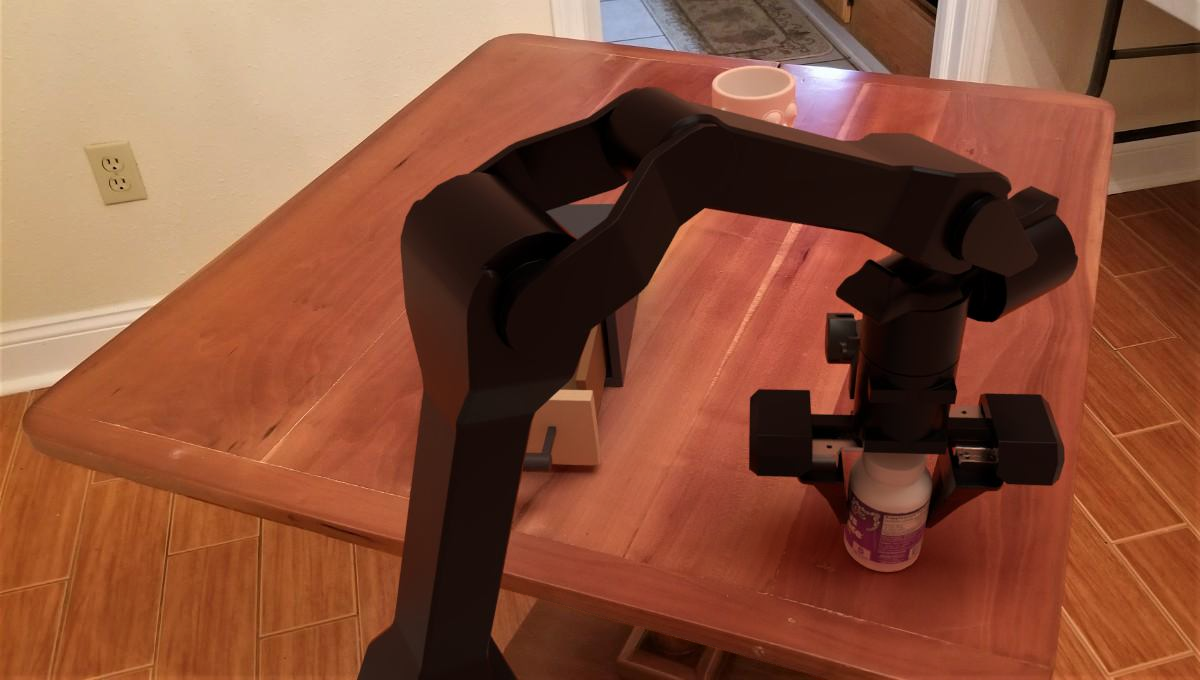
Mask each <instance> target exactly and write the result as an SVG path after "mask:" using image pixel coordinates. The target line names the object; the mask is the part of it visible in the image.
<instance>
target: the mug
mask: <svg viewBox="0 0 1200 680" xmlns="http://www.w3.org/2000/svg"><path fill="white" fill-rule="evenodd" d="M711 107H713V108H717V109H721V110H725V111H729V112H733V113H737V114H740V115H744V116H748V117H752V118H756V119H760V120H764V121H768V122H772V123H775V124H779V125H783V126H787V127H791V128H795V119H796V118H797V117H798V112H799V111H798V110H799V109H798V107H797V103H796V78H795V77H794V75H793V74H792V73H791V72H789V71H787V70H785V69H782V68H780V67H775V66H769V65H747V66H745V65H744V66H739V67H734V68H731V69H728V70H724V71H723V72H721V73H719V74H718V75H717V76H715V77H714V79H713V80H712V83H711Z"/></svg>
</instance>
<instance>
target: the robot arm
mask: <svg viewBox="0 0 1200 680" xmlns="http://www.w3.org/2000/svg"><path fill="white" fill-rule="evenodd" d="M624 185H625V187H624V188H623V190H622V192H621V193H620V195H619V196H618V198H617V199H616V201H615V203H614V204H615V205H614V206H613V208H612V210H611V211H610V213H609V215H608V216H607V218H606V219H605V220H604V221H602V222H601V223H599V224H598V225H597V226H595V227H594V228H592V229H591V230H590V231H588V232H587V233H586V234H584V235H583V236H581V237H580V238H579V239H578V238H577V237H575V236H574V235H573V234H572V233H571V232H569V231H568V230H567V229H566V228H565V227H563V226H562V225H561V224H560V223H558V222H557V221H556V220H555V219H554V218H552V217H551V216H550V215H549V214H548V213H546V211H549V210H552V209H555V208H558V207H561V206H564V205H567V204H575V203H577V202H580V201H583V200H586V199H589V198H593V197H595V196H600V195H601V194H605V193H607V192H611V191H614V190H617V189H618V188H620V187H622V186H624ZM1012 189H1013V187H1012V182H1011V181H1010V179H1009V177H1008V176H1007V175H1005V174H1003V173H1001V172H1000V171H997V170H995V169H993V168H992V167H989V166H986V165H984V164H983V163H979V162H977V161H975V160H973V159H971V158H969V157H966V156H964V155H962V154H960V153H957V152H955V151H953V150H950V149H948V148H946V147H944V146H941V145H939V144H938V143H935V142H933V141H930V140H928V139H926V138H924V137H921V136H920V135H917V134H914V133H911V132H870V133H868V134H866V135H864V136H863V137H861V138H859V139H858V140H843V139H837V138H834V137H830V136H825V135H822V134H818V133H814V132H811V131H806V130H802V129H799V128H795V127H794V128H791V127H787V126H783V125H779V124H775V123H772V122H768V121H764V120H760V119H756V118H752V117H748V116H744V115H740V114H737V113H733V112H729V111H725V110H721V109H717V108H713V107H712V106H709V105H705V104H701V103H697V102H693V101H689V100H686V99H684V98H682V97H680V96H679V95H676V94H675V93H673V92H671V91H669V90H667V89H665V88H662V87H661V86H660V87H659V86H645V87H634V88H632V89H630V90H628V91H626V92H624V93H621V94H620V95H618V96H616V97H615V98H614V99H612V100H611V101H610V102H608V103H607V104H605V105H604V106H602V107H601V108H599V109H597V111H595V112H594V113H592V114H591V115H590V116H587V117H586V118H585V117H584V118H582V119H579V120H576V121H574V122H570V123H568V124H565V125H562V126H559V127H556V128H553V129H549V130H547V131H544V132H541V133H537V134H535V135H532V136H529V137H525V138H523V139H520V140H518V141H515V142H513V143H511V144H509V145H507V146H506V147H504V148H502V150H500V151H498V152H497V153H496V154H494V155H493V156H492V157H490V158H489V159H487V160H486V161H485V162H482V163H481V164H480V165H478V166H477V167H476V168H474V169H473V170H471V171H469V172H467V173H464V174H457V175H455V176H453V177H450V178H449V179H447V180H445V181H443V182H441V183H439V184H436V186H434V187H433V188H432V189H431V190H430V191H429V192H428V193H427V194H425V196H424V197H422V198H420V199H417V200H415V201H414V202H413V203H412V205H411V206H410V208H409V210H408V212H407V214H406V216H405V219H404V222H403V227H402V231H401V233H400V248H399V249H400V259H401V273H402V284H403V295H404V296H403V298H404V308H405V312H406V313H405V314H406V317H407V321H408V326H409V329H410V333H411V337H412V341H413V345H414V348H415V353H416V358H417V361H418V365H419V368H420V369H419V370H420V373H421V379H422V397H421V403H420V404H421V405H420V412H419V421H418V430H417V437H416V443H415V444H416V445H415V452H414V460H413V467H412V476H411V484H410V492H409V493H410V494H409V500H408V507H407V508H408V509H407V516H406V524H405V531H404V538H403V547H402V556H401V563H400V571H399V579H398V588H397V594H396V595H397V596H396V601H395V602H396V603H395V610H394V617H393V620H392V624H390V625H389V626H387V627H386V628H385V629H384V630H382V631H381V632H380V633H379V634H377V635H376V636H375V637H374V638H372V639H371V640H370V642H369V643H368V645H367V647H366V650H365V654H364V656H363V659H362V662H361V665H360V667H359V668H360V669H359V671H358V674H357V678H356V680H519V678H518V677H517V676H516V674H515V672H514V670H513V669H512V667H511V666H510V664H509V662H508V661H507V658H506V657H505V656H504V653H503V652H502V651H501V649H500V648H499V646H498V644H497V643H496V640H495V639H494V638H493V636H492V633H493V632H492V631H493V626H494V622H495V617H496V611H497V606H498V600H499V595H500V591H501V585H502V579H503V575H504V571H505V570H504V569H505V566H506V565H505V564H506V559H507V555H508V548H509V544H510V538H511V533H512V528H513V523H514V518H515V514H516V513H515V512H516V508H517V503H518V502H517V501H518V496H519V492H520V487H521V483H522V477H523V472H524V471H523V467H524V461H525V456H526V451H527V446H528V441H529V436H530V430H531V425H532V421H533V418H534V415H535V413H536V411H537V410H539V409H540V408H541V407H542V406H543V405H544V404H545V403H546V402H547V401H548V400H549V399H550V398H551V397H553V396H554V395H555V394H556V393H557V392H558V391H559V390H560V389H561V388H562V387H563V386H564V385H565V384H567V383H568V382H569V381H570V380H571V379H572V377H573V376H574V374H575V372H576V369H577V367H578V364H579V362H580V359H581V356H582V354H583V351H584V348H585V346H586V343H587V340H588V338H589V335H590V333H591V330H592V329H593V328H594V327H595V326H597V325H598V324H599V323H601V322H602V321H603V320H605V319H606V318H607V317H609V316H610V315H611V314H613V313H614V312H615V311H617V310H618V309H619V308H621V307H622V306H623V305H625V304H626V303H627V302H629V301H630V300H631V299H633V298H634V297H635V296H637V295H638V294H639V295H640V294H641V293H643V291H644V290H645V289H646V288H647V287H648V285H649V284H650V282H651V280H652V279H653V277H654V275H655V273H656V271H657V269H658V267H659V266H660V264H661V263H662V260H663V259H664V257H665V255H666V253H667V251H668V249H669V248H670V246H671V244H672V243H673V240H674V238H675V237H676V235H677V233H678V232H679V230H680V228H681V227H682V226H683V225H684V224H686V223H687V222H688V221H690V220H691V219H692V218H694V217H695V216H697V215H698V214H700V213H701V212H702V211H704V210H705V209H706V210H711V211H712V210H713V211H718V212H724V213H731V214H737V215H743V216H749V217H756V218H760V219H761V218H762V219H767V220H774V221H779V222H785V223H791V224H798V225H803V226H810V227H814V228H815V227H816V228H821V229H828V230H834V231H840V232H846V233H853V234H858V235H862V236H865V237H867V238H868V239H871V240H873V241H875V242H876V243H879V244H881V245H883V246H885V247H886V248H888V249H891V250H892V251H894V252H893V253H891V254H888V255H886V256H884V257H882V258H880V259H878V260H876V261H875V260H873V259H871V258H870V259H867V260H865V261H864V263H863V265H862V266H861V267H860V268H859V269H858V270H857V271H856V272H854V273H853V274H850V275H848V276H847V277H846V278H844V280H843V281H842V282H841V283H840V284H839V286H837V287H836V289H835V296H836V297H837V298H838V299H839V300H841V301H842V302H844V303H845V304H847V305H848V306H850V307H851V308H853V309H855V310H856V311H857V312H860V313H861V314H862V315H861V319H856V318H855V314H854V312H826V319H825V329H824V355H825V360H826V364H828V365H849V376H848V387H847V388H848V397H849V400H853V408H852V410H851V411H850V412H849V414H835V413H833V414H832V413H831V414H830V413H828V414H825V413H812V406H811V405H812V403H811V402H812V401H811V390H810V389H775V388H774V389H771V388H770V389H768V388H766V389H765V388H758V389H757V390H756V391H755V392H754V393H753V394H752V395H751V396H749V424H748V425H749V429H748V430H749V431H748V470H749V471H750V472H752V473H753V474H754V475H755V476H757V477H775V478H776V477H777V478H780V477H781V478H797V481H798V482H799V483H800V484H801V485H806V486H813V487H814V488H815V489H816V490H817V492H818V493H820V495H821V496H822V497H823V498H824V499H825V500H826V502H827V503H828V505H829V506H830V508H831V510H832V511H833V513H834V515H835V517H836V519H837V520H838V523H839V525H842V526H845V525H846V524H847V520H848V508H847V488H846V478H845V467H844V461H843V460H844V457H843V452H862V451H863V452H868V453H903V454H927V455H937V458H936V460H935V461H936V462H935V465H934V468H933V471H932V475H931V478H932V493H931V499H930V504H929V509H928V515H927V520H926V525H925V529H933V527H935V526H936V525H938V524H939V523H941V521H943V520H944V519H945V518H947V517H948V516H950V515H951V514H952V513H953V512H955V511H956V510H958V509H959V508H960V507H962V506H964V505H966V504H967V503H969V502H971V501H972V500H974V499H976V498H977V497H979V496H981V495H983V494H984V493H987V492H998V491H1000V490H1002V488H1003V487H1004V483H1005V484H1006V485H1012V486H1013V485H1014V486H1017V485H1019V486H1042V487H1043V486H1045V487H1049V486H1050V487H1053V486H1054V484H1055V483H1057V482H1058V481H1059V480H1060V478H1061V475H1062V471H1063V468H1064V465H1065V460H1066V458H1065V457H1066V456H1065V453H1066V452H1065V444H1064V442H1063V439H1062V436H1061V434H1060V431H1059V427H1058V425H1057V422H1056V420H1055V416H1054V414H1053V411H1052V408H1051V405H1050V403H1049V402H1048V401H1047V400H1046V399H1045V397H1044V396H1043V395H1042V394H1039V393H994V392H993V393H991V392H990V393H988V392H986V393H980V394H979V398H978V399H979V400H978V404H977V405H976V404H973V405H972V404H959V405H956V401H957V396H958V388H957V384H956V380H957V374H958V369H959V365H960V364H959V363H960V358H961V353H962V348H963V343H964V342H963V341H964V336H965V332H966V326H967V320H968V319H971V320H973V321H976V322H981V323H994V322H996V321H998V320H1000V319H1002V318H1003V317H1005V316H1007V315H1010V314H1011V313H1013V312H1014V311H1015V312H1016V311H1017V310H1019V309H1021V308H1022V307H1024V306H1026V305H1027V304H1030V303H1032V302H1034V301H1035V300H1038V299H1039V298H1041V297H1043V296H1045V295H1046V294H1048V293H1050V292H1052V291H1054V290H1056V289H1057V288H1060V287H1061V286H1062V285H1064V284H1066V283H1068V281H1070V279H1071V278H1072V277H1073V276H1074V273H1075V271H1076V269H1077V267H1078V263H1079V262H1078V261H1079V255H1078V254H1076V246H1075V242H1074V239H1073V236H1072V233H1071V232H1070V230H1069V227H1068V226H1067V225H1066V224H1065V222H1064V221H1063V220H1062V219H1061V217H1060V216H1058V214H1057V212H1058V207H1059V203H1060V199H1059V197H1058V196H1055V195H1053V194H1050V193H1048V192H1046V191H1044V190H1041V189H1040V188H1038V187H1035V186H1032V185H1030V186H1028V187H1025V188H1024V189H1021V190H1020V191H1017V192H1016V193H1014V194H1013V195H1012V196H1011V197H1009V194H1010V193H1011V192H1012ZM952 405H956V406H955V407H953V409H952ZM951 409H952V410H951Z"/></svg>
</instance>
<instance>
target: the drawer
mask: <svg viewBox="0 0 1200 680" xmlns="http://www.w3.org/2000/svg"><path fill="white" fill-rule="evenodd" d="M609 357H610V353H609V344H608V335H607V326H606V319H605V320H603V321H602V322H601V323H599V324H598V325H597V326H595V327H594V328H593V329H592V330H591V333H590V335H589V338H588V340H587V343H586V346H585V348H584V351H583V354H582V356H581V359H580V362H579V364H578V367H577V369H576V372H575V374H574V376H573V377H572V379H571V380H570V381H569V382H568V383H567V384H565V385H564V386H563V387H562V388H561V389H560V390H559V391H558V392H557V393H556V394H555V395H554V396H553V397H551V398H550V399H549V400H548V401H547V402H546V403H545V404H544V405H543V406H542V407H541V408H540V409H539V410H537V411H536V413H535V415H534V418H533V421H532V425H531V430H530V436H529V441H528V446H527V451H526V456H525V461H524V467H523V472H529V473H551V471H552V469H553V465H571V466H572V465H573V466H574V465H575V466H600V463H601V457H602V451H601V443H600V437H599V436H600V435H599V434H600V433H599V429H598V428H599V427H598V418H599V413H600V407H601V402H602V397H603V392H604V387H605V386H604V382H605V377H606V372H607V367H608V362H609Z"/></svg>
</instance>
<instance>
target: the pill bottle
mask: <svg viewBox="0 0 1200 680" xmlns="http://www.w3.org/2000/svg"><path fill="white" fill-rule="evenodd" d="M927 458H928V454H903V453H868V452H863V451H861V455H860V456H858V458H856V459H855V461H854V462H853V464H852V466H851V468H850V471H849V476H848V486H847V495H846V497H847V508H848V520H847V524H846V525H844V530H843V542H844V545H845V548H846V550H847V552H848V554H849V555H850V557H852V559H853V560H854V561H856V562H857V563H858V564H860V565H861V566H863V567H865V568H867V569H869V570H872V571H876V572H883V573H891V572H892V573H893V572H899V571H902V570H904V569H906V568H907V567H910V566H912V565H913V564H914V563H915V561H916V560H917V559H918V557H919V555H920V553H921V549H922V545H923V539H924V534H925V530H926V528H925V525H926V520H927V515H928V509H929V504H930V499H931V493H932V475H931V472H930V470H929V469H928V467H927Z"/></svg>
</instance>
